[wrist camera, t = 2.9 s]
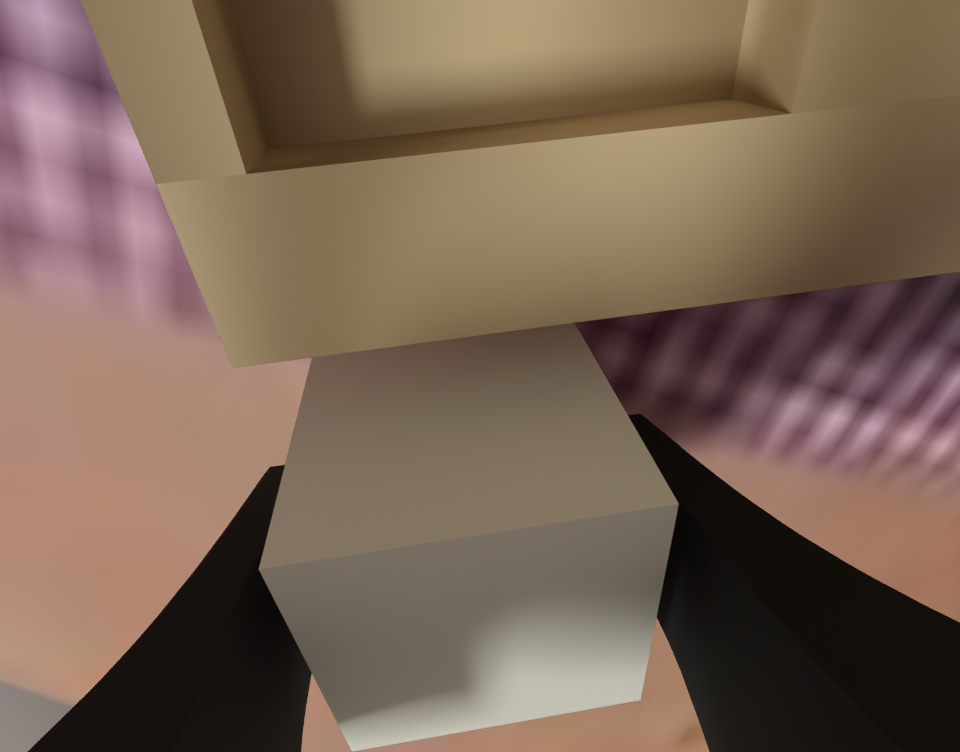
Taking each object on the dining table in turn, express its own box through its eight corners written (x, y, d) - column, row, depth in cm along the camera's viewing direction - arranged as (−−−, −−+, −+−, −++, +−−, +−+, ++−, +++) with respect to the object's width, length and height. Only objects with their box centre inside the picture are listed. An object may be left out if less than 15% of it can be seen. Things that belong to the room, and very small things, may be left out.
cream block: (568, 313, 11) (678, 503, 6) (565, 489, 13) (640, 699, 9) (314, 347, 10) (258, 569, 6) (366, 520, 13) (352, 751, 9)
